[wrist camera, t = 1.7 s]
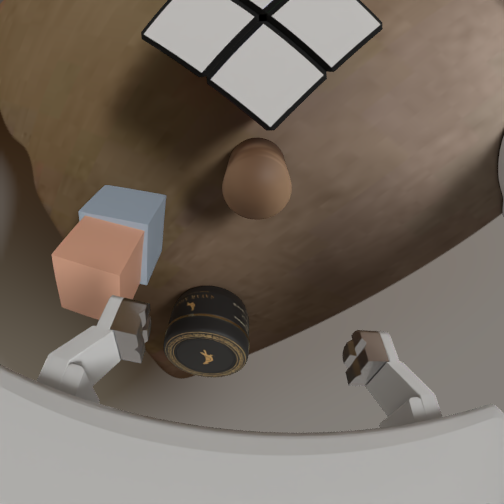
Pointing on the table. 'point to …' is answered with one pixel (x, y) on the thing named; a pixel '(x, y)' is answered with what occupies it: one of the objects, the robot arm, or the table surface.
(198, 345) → the jar
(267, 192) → the walnut cylinder
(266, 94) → the puzzle cube
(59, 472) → the robot arm
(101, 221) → the top block
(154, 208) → the base block
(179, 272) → the table surface
